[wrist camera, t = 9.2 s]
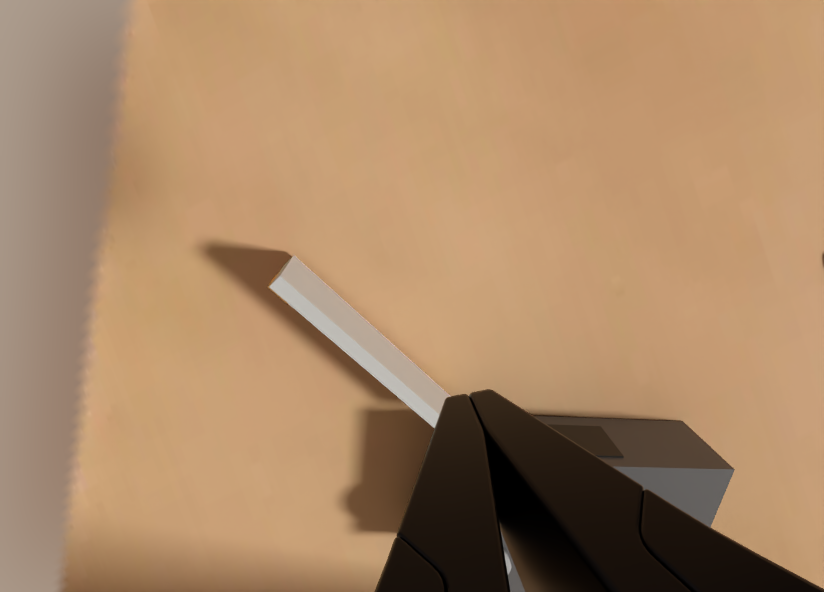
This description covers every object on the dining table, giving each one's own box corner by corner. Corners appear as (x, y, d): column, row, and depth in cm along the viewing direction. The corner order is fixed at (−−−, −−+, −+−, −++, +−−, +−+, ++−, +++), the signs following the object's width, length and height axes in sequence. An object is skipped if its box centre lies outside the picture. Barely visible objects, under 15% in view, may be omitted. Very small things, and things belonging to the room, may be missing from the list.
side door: (278, 270, 19) (262, 293, 16) (295, 253, 18) (282, 273, 16) (446, 416, 22) (456, 457, 19) (462, 403, 22) (474, 442, 19)
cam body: (683, 419, 23) (743, 476, 20) (641, 535, 26) (687, 605, 22) (420, 410, 22) (429, 468, 18) (405, 534, 25) (410, 608, 21)
